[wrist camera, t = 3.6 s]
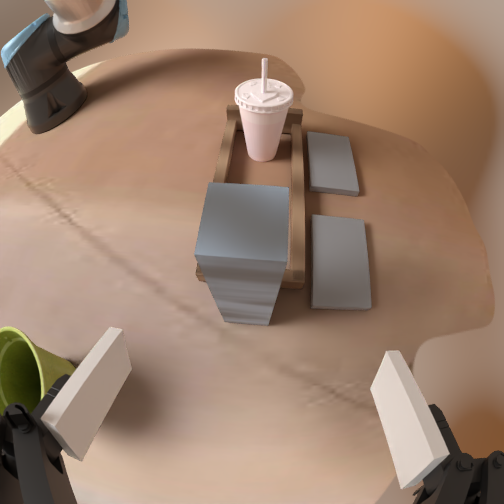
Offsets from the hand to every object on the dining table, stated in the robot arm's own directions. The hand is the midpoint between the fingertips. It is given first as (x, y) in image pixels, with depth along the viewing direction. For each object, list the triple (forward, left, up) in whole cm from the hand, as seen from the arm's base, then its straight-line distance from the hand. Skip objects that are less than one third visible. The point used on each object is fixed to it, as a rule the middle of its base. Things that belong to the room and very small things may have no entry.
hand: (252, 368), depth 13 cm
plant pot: (+6, -20, -13) cm, 24 cm away
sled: (-18, -1, -12) cm, 22 cm away
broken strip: (-18, +8, -12) cm, 24 cm away
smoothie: (-26, -1, -13) cm, 29 cm away
